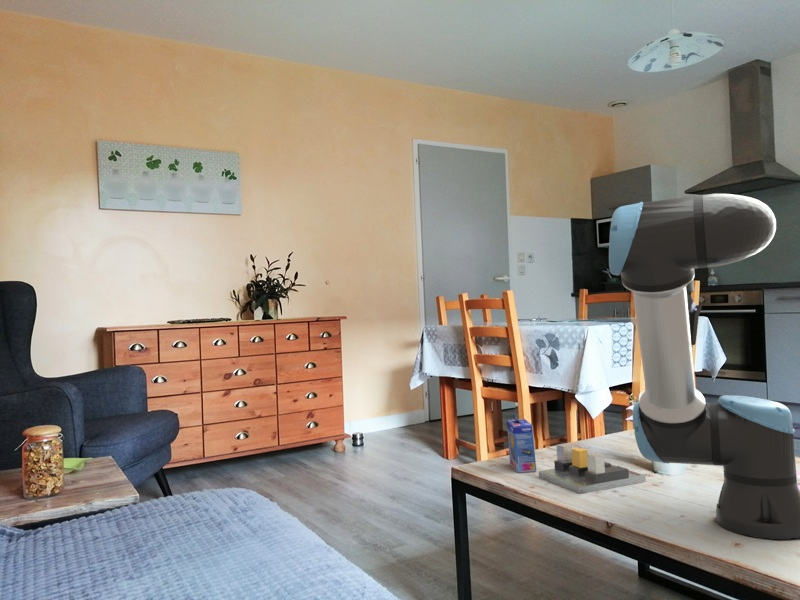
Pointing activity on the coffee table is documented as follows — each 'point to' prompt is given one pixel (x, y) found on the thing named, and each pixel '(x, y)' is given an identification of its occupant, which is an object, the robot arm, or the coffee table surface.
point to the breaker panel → (588, 484)
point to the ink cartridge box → (521, 445)
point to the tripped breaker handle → (579, 457)
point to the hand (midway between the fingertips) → (682, 376)
